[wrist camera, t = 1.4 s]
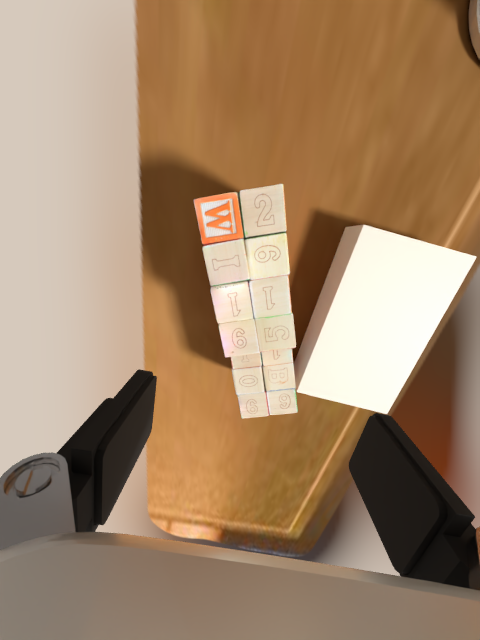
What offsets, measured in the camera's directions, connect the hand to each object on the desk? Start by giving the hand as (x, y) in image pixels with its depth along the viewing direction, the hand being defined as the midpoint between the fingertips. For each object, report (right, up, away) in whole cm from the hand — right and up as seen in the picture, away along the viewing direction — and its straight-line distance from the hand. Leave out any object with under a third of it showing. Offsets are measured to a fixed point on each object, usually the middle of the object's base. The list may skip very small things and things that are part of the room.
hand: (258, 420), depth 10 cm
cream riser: (+15, +5, +21) cm, 26 cm away
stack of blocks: (+1, +7, +21) cm, 22 cm away
